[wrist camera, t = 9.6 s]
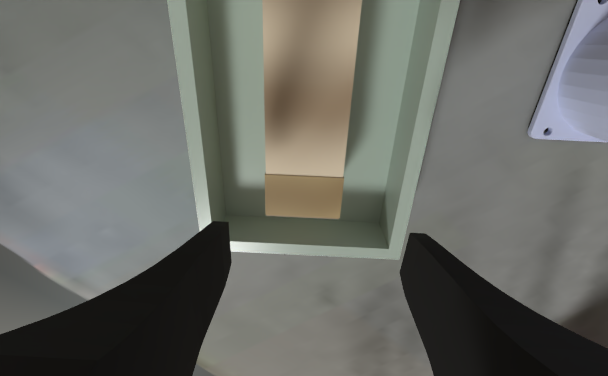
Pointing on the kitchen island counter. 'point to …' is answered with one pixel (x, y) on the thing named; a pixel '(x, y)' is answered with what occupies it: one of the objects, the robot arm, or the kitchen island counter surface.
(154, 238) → the kitchen island counter surface
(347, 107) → the tan long block
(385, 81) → the bin
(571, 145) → the kitchen island counter surface
